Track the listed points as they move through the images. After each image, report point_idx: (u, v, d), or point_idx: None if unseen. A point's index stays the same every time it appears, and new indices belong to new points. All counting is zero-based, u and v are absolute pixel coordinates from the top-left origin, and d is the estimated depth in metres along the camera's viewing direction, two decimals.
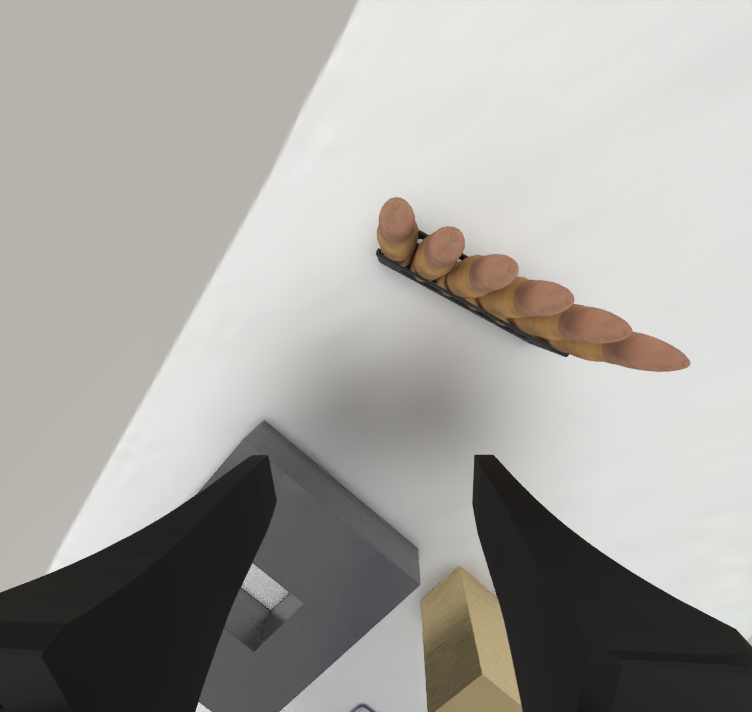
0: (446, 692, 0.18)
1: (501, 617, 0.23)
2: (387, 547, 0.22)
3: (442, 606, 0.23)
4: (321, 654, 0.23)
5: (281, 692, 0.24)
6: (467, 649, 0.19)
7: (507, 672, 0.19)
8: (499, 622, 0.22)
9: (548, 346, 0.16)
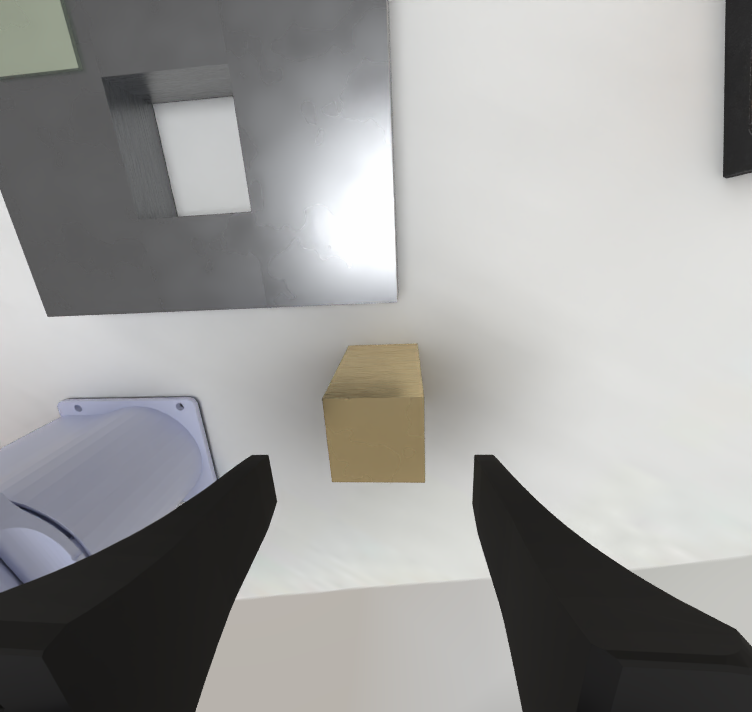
0: (360, 393, 0.14)
1: None
2: (395, 240, 0.16)
3: (379, 354, 0.18)
4: (219, 289, 0.17)
5: (133, 294, 0.17)
6: (407, 381, 0.15)
7: None
8: None
9: None
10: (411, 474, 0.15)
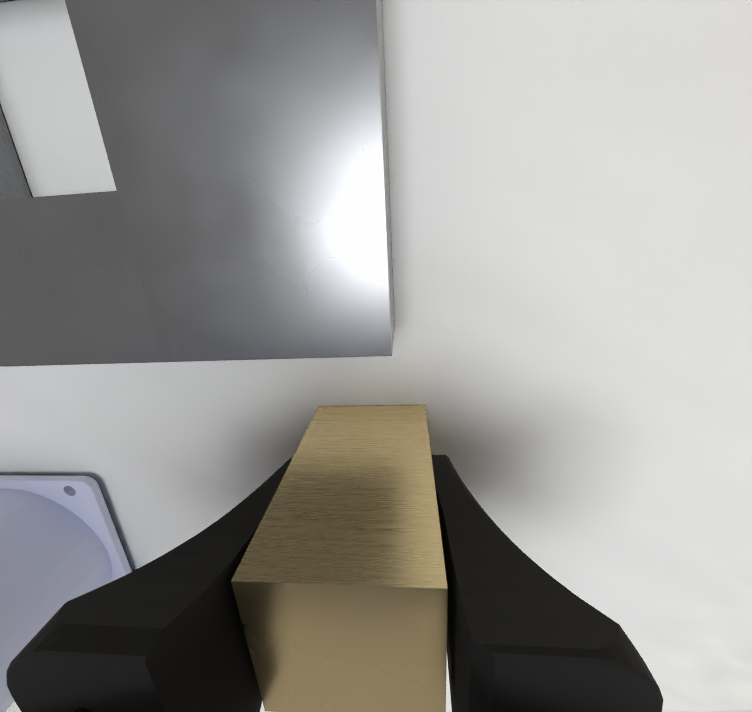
0: (313, 563, 0.07)
1: None
2: (388, 244, 0.09)
3: (364, 432, 0.11)
4: (78, 330, 0.09)
5: None
6: (410, 518, 0.08)
7: None
8: None
9: None
10: (418, 710, 0.07)
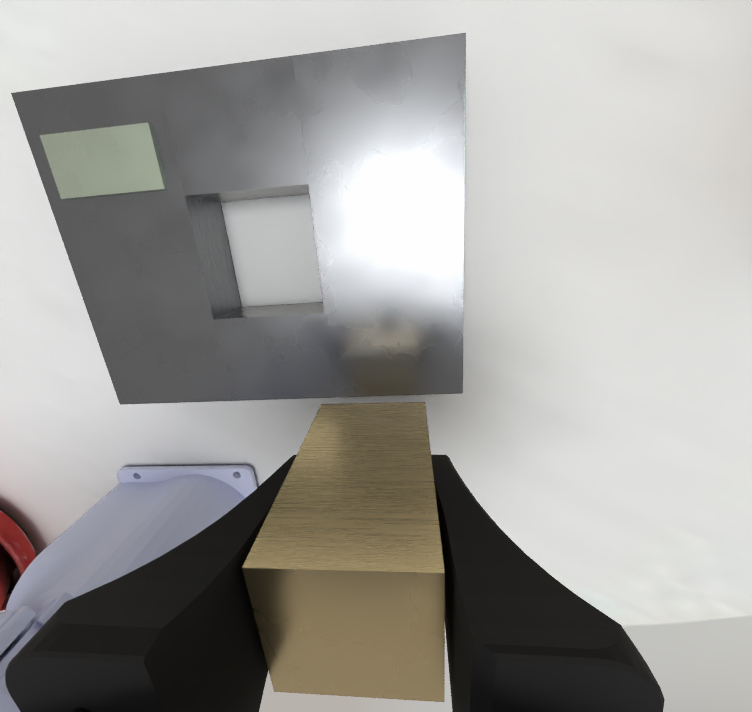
0: (319, 550, 0.07)
1: None
2: None
3: (366, 428, 0.12)
4: (288, 380, 0.17)
5: (205, 385, 0.18)
6: (409, 509, 0.08)
7: None
8: None
9: None
10: (419, 689, 0.08)
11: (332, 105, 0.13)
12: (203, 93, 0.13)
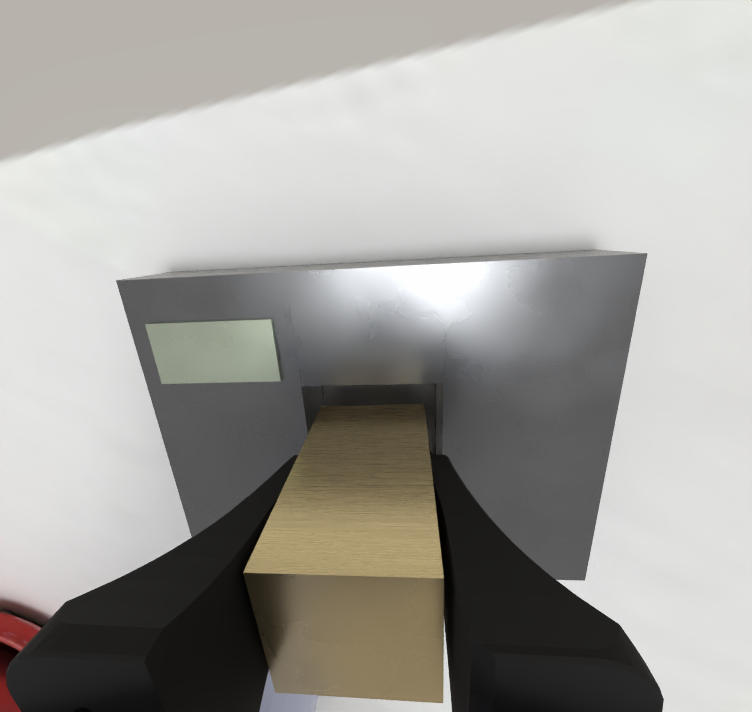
0: (319, 555, 0.07)
1: None
2: None
3: (366, 431, 0.12)
4: None
5: None
6: (409, 513, 0.08)
7: None
8: None
9: None
10: (418, 690, 0.08)
11: (482, 312, 0.12)
12: (336, 293, 0.12)
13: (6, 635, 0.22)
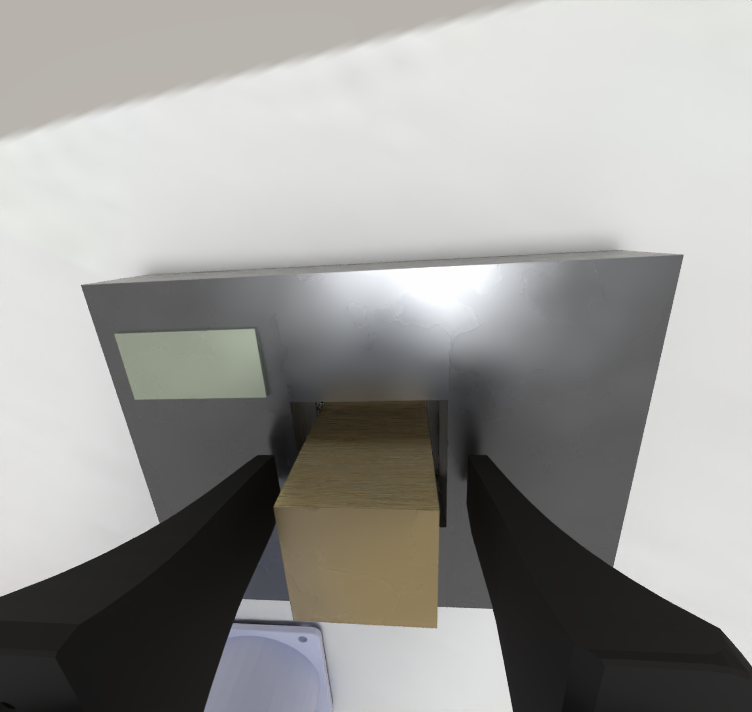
0: (336, 495, 0.09)
1: None
2: None
3: (372, 407, 0.13)
4: None
5: None
6: (411, 467, 0.10)
7: None
8: None
9: None
10: (416, 616, 0.09)
11: (493, 320, 0.10)
12: (328, 299, 0.11)
13: None
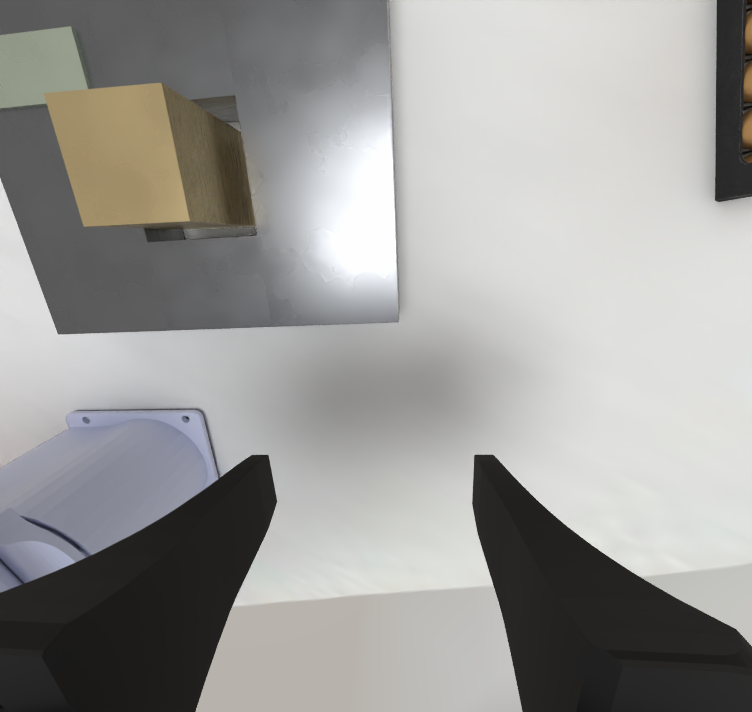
0: None
1: (251, 212, 0.17)
2: None
3: None
4: (225, 308, 0.17)
5: (142, 313, 0.18)
6: None
7: (201, 173, 0.13)
8: (244, 202, 0.16)
9: None
10: (172, 209, 0.12)
11: (255, 9, 0.13)
12: None
13: None
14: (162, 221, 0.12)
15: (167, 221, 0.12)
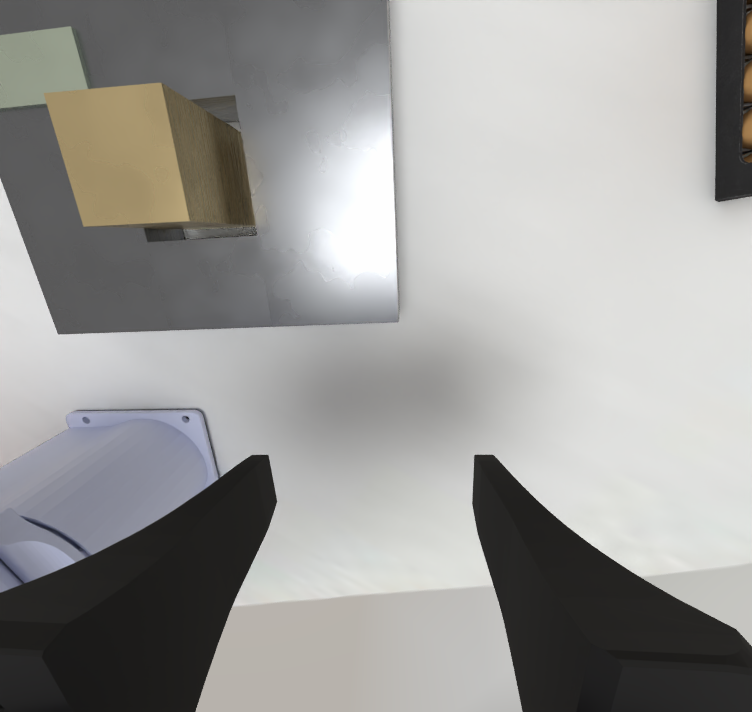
0: None
1: (251, 212, 0.17)
2: None
3: None
4: (225, 308, 0.17)
5: (142, 313, 0.18)
6: None
7: (201, 173, 0.13)
8: (244, 202, 0.16)
9: None
10: (171, 209, 0.12)
11: (255, 9, 0.13)
12: None
13: None
14: (162, 221, 0.12)
15: (167, 221, 0.12)
